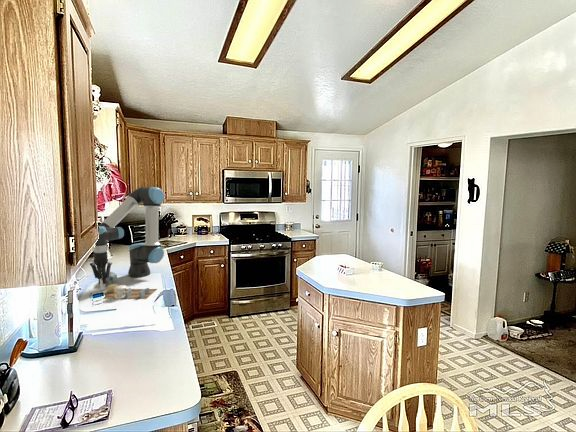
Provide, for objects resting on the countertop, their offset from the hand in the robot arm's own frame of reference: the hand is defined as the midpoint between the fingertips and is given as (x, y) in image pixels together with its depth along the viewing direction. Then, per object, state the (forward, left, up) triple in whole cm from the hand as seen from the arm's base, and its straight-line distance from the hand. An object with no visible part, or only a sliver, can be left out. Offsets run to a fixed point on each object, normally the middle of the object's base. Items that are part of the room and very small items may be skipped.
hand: (102, 288), depth 218 cm
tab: (0, +6, -2) cm, 6 cm away
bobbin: (+10, +16, -2) cm, 18 cm away
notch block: (+7, +24, -2) cm, 25 cm away
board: (+4, +18, -3) cm, 18 cm away
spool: (-17, -5, -3) cm, 18 cm away
